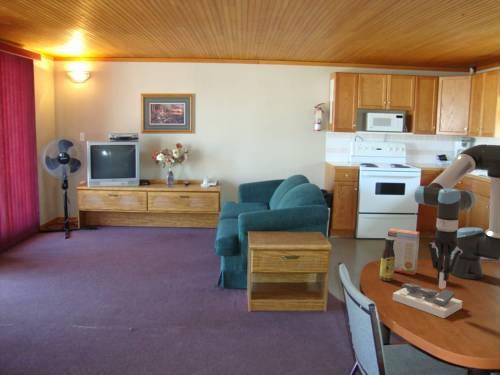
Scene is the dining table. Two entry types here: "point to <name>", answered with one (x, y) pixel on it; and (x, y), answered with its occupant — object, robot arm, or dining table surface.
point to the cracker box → (405, 250)
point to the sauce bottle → (387, 261)
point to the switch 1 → (411, 286)
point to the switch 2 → (444, 297)
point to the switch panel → (426, 302)
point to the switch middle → (427, 291)
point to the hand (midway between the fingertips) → (442, 287)
